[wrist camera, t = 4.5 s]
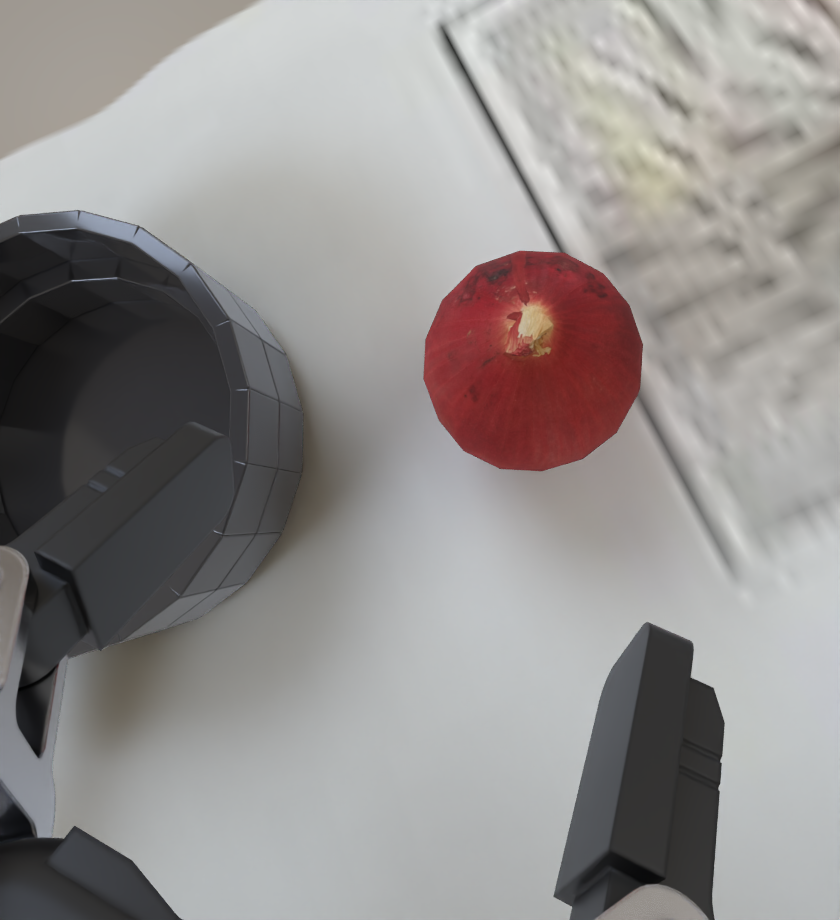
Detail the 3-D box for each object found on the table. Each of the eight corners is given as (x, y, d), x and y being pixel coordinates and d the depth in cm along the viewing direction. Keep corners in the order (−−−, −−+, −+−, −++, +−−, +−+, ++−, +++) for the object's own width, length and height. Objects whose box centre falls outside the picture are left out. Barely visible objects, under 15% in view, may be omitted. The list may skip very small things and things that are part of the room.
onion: (422, 337, 22) (360, 237, 14) (587, 279, 21) (619, 139, 13) (473, 500, 21) (437, 490, 13) (647, 446, 20) (716, 402, 13)
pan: (357, 322, 22) (311, 271, 18) (238, 686, 22) (157, 733, 17) (45, 235, 25) (-68, 170, 20) (-67, 560, 25) (-210, 571, 20)
